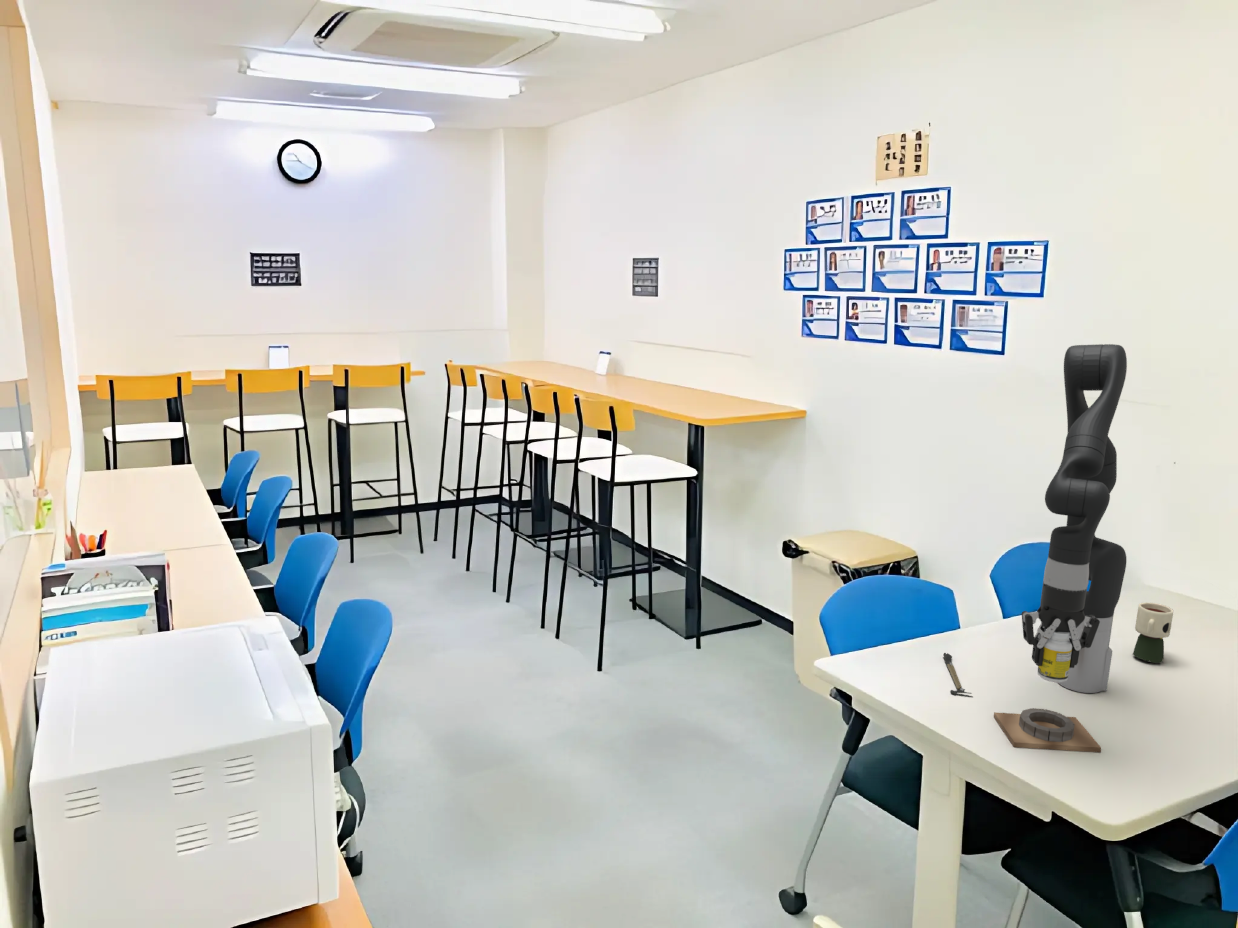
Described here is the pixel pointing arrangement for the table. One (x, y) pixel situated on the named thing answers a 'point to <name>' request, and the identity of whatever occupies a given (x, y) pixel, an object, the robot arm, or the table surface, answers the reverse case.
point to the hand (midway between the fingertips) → (1053, 664)
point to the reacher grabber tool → (954, 676)
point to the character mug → (1152, 631)
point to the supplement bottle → (1056, 658)
